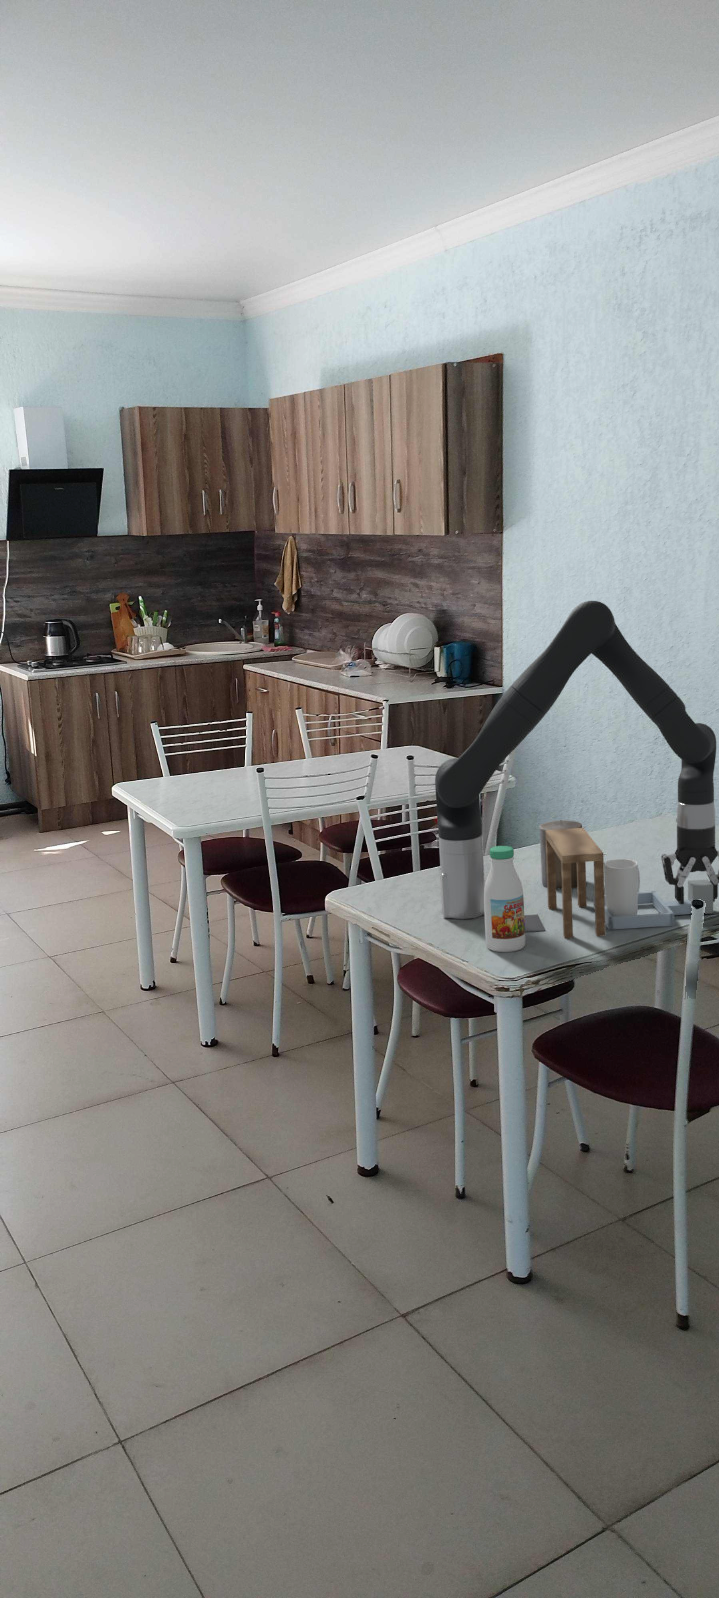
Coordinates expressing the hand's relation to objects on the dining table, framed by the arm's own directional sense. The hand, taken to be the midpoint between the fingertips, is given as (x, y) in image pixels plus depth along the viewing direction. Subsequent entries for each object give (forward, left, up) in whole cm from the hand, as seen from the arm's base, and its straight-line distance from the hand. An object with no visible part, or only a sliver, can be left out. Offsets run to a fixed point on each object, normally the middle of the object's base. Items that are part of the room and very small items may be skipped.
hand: (696, 901), depth 240 cm
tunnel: (-25, 0, -2) cm, 25 cm away
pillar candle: (-23, +26, -3) cm, 35 cm away
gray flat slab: (-35, 0, -2) cm, 35 cm away
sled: (-8, 0, -2) cm, 9 cm away
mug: (-15, 0, -3) cm, 15 cm away
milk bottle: (-41, -12, -3) cm, 43 cm away
